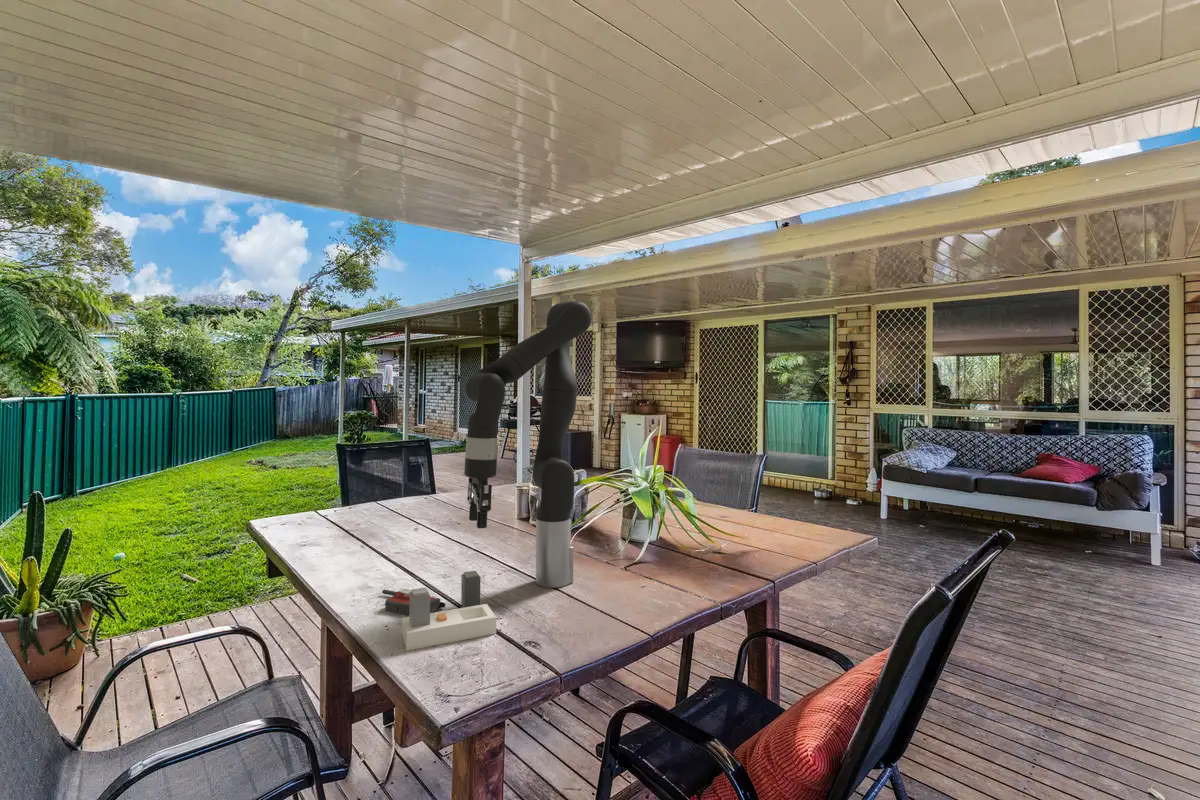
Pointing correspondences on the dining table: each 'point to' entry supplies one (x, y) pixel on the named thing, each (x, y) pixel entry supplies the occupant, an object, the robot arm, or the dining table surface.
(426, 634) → the power strip
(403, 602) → the walkie-talkie
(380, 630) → the dining table surface
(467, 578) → the plug
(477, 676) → the dining table surface
